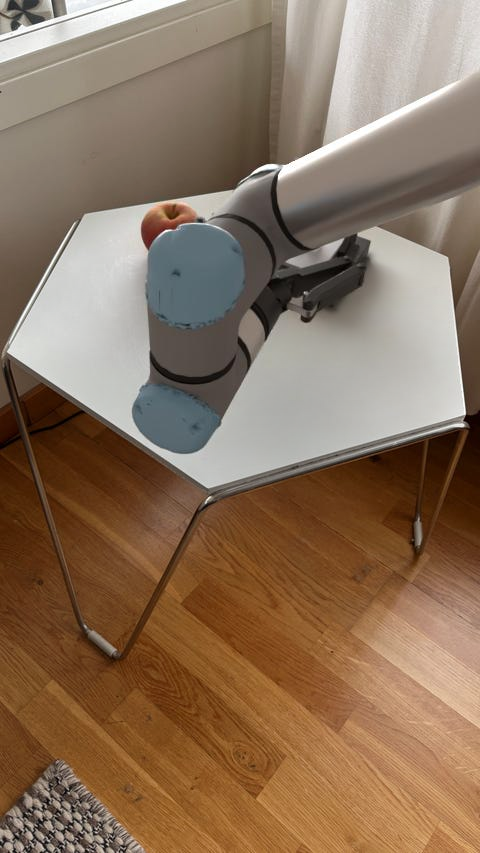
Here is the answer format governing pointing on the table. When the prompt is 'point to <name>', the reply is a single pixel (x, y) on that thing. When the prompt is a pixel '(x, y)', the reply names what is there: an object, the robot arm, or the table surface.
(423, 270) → the table surface
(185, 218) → the apple
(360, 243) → the scale
